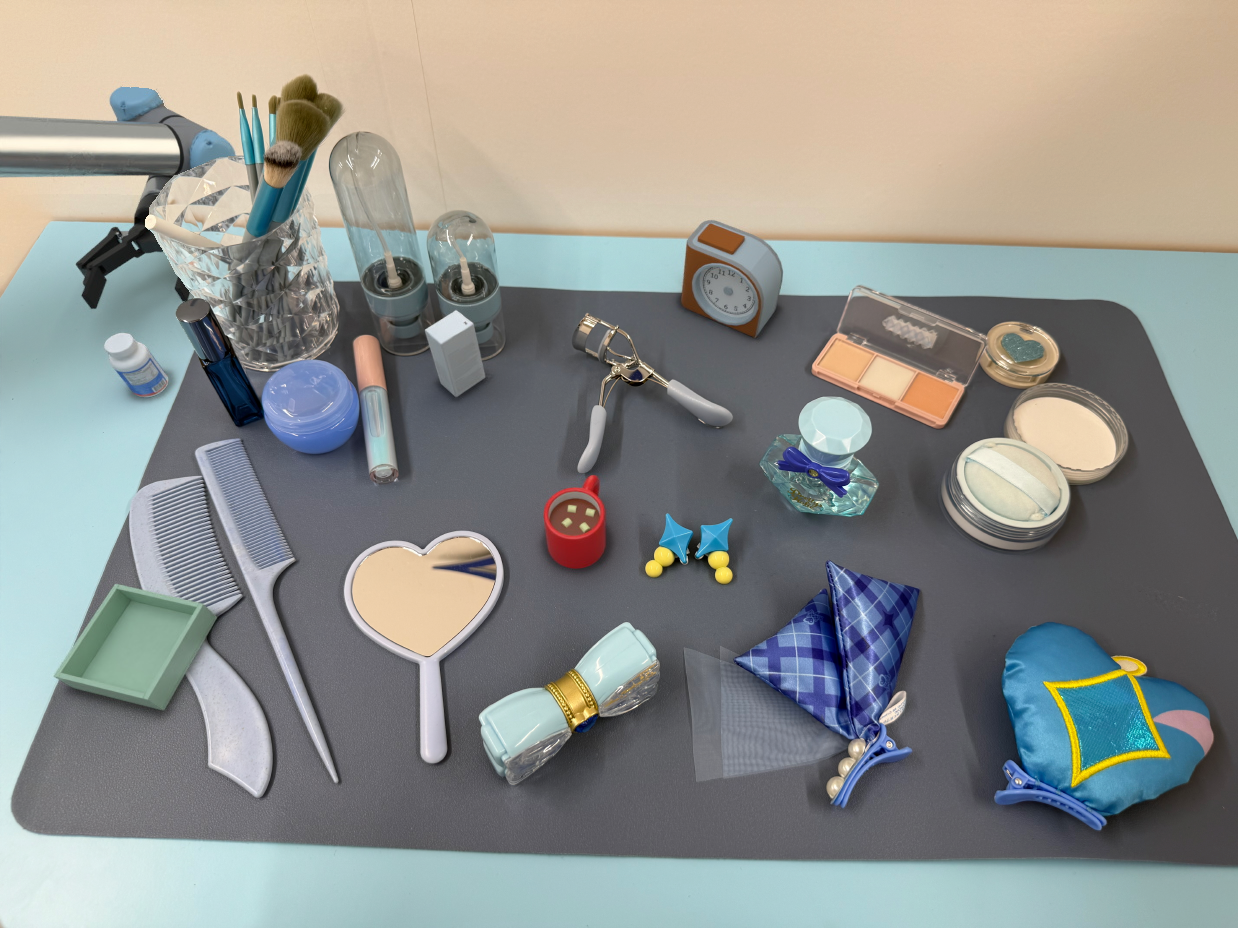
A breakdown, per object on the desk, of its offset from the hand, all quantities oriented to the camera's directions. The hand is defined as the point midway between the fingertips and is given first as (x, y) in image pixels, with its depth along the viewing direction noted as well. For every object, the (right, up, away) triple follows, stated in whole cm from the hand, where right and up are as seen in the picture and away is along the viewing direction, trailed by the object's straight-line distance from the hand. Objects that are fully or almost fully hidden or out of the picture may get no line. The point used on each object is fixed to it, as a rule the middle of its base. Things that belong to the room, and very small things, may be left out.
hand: (135, 298), depth 118 cm
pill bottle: (+1, -13, +3) cm, 13 cm away
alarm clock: (+92, +1, +13) cm, 93 cm away
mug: (+69, -35, -12) cm, 78 cm away
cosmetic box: (+49, -12, +3) cm, 51 cm away
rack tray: (+16, -49, -23) cm, 56 cm away
